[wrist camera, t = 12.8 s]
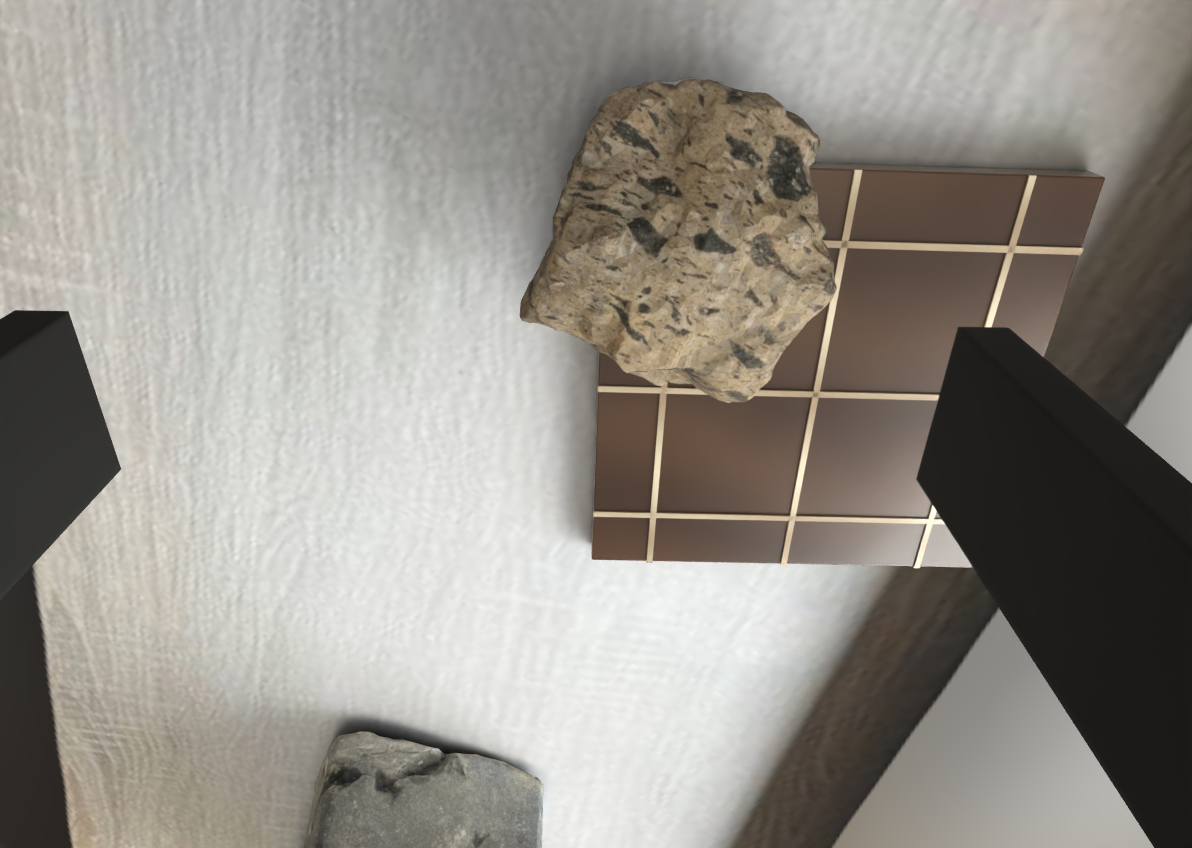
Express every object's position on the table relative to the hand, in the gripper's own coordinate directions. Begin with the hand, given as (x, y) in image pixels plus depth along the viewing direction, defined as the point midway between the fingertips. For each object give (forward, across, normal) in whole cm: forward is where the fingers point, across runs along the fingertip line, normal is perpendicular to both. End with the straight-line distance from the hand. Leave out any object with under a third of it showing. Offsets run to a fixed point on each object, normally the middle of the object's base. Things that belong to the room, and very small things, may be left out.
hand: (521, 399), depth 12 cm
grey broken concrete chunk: (+22, -10, -45) cm, 51 cm away
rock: (+21, +5, -4) cm, 22 cm away
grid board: (+22, +12, -11) cm, 27 cm away
